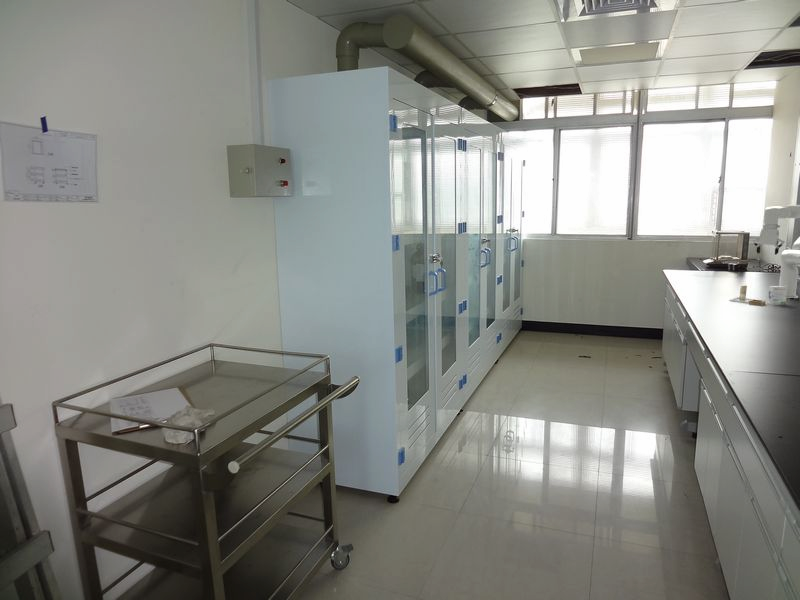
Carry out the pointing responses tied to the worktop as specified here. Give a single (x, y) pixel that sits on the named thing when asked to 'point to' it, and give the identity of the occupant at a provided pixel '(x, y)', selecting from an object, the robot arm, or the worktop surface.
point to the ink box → (777, 295)
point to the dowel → (743, 293)
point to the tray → (739, 300)
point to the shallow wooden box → (757, 302)
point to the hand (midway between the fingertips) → (767, 253)
